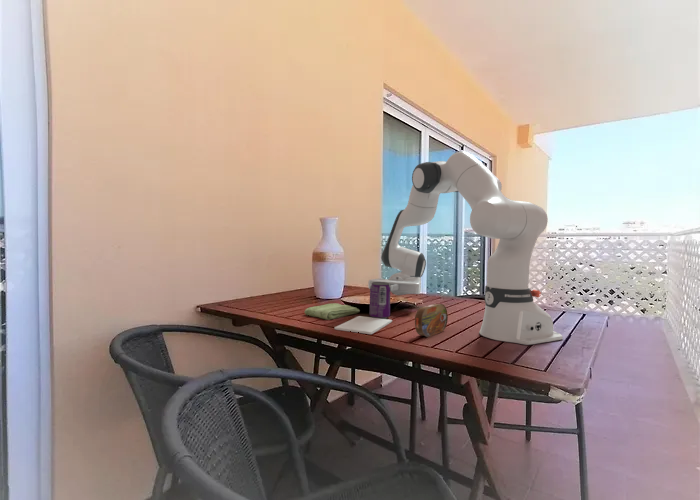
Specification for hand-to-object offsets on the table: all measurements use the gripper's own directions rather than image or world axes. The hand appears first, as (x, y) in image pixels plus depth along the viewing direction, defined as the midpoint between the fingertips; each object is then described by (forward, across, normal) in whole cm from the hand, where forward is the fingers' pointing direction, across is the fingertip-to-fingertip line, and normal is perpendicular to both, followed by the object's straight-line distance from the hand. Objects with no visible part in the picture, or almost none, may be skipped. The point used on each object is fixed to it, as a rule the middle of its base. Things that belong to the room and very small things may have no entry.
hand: (387, 288), depth 137 cm
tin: (+21, +21, +9) cm, 31 cm away
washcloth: (+11, -17, +10) cm, 23 cm away
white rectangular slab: (+21, 0, +9) cm, 23 cm away
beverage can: (+8, 0, +9) cm, 12 cm away
